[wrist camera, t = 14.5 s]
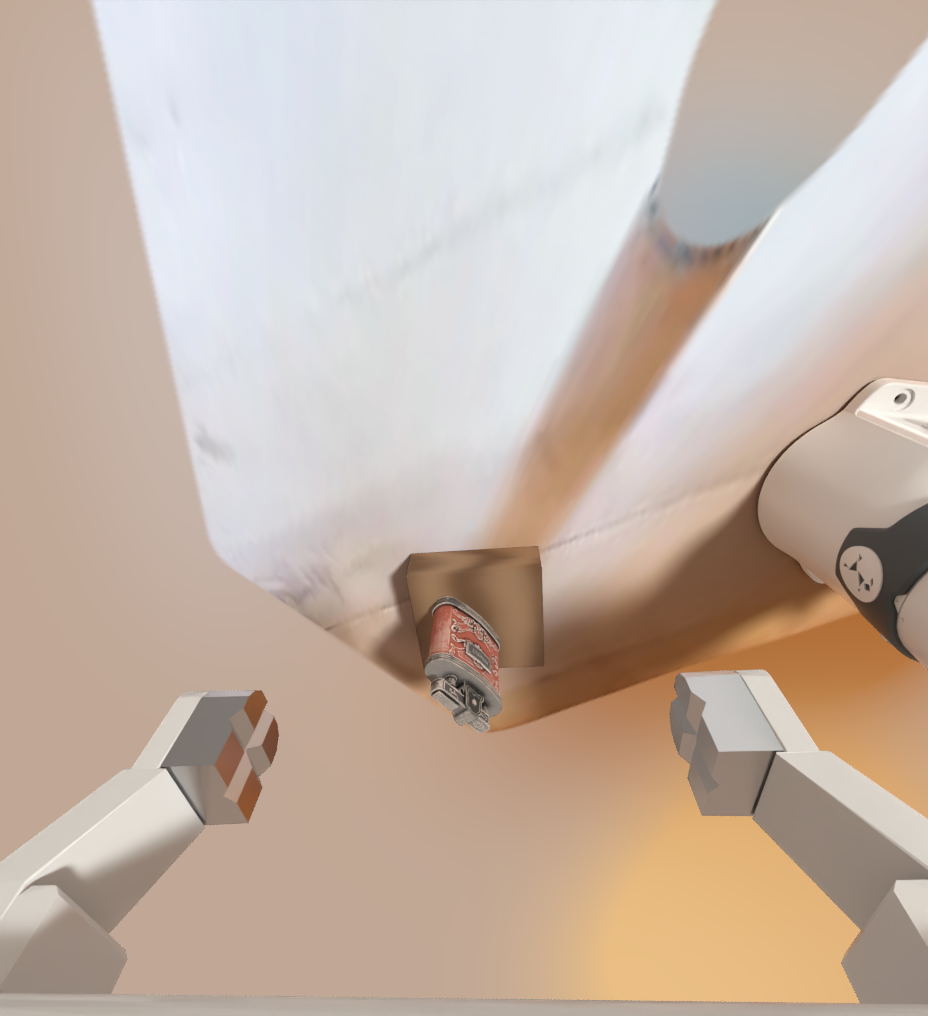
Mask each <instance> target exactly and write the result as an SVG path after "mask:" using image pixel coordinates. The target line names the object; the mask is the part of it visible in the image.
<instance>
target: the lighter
mask: <svg viewBox="0 0 928 1016" xmlns="http://www.w3.org/2000/svg"><path fill="white" fill-rule="evenodd" d="M432 616H433V618H434V619H433V627H432V635H431V642H430V650H429V658H427V660H426V663H425V675H426V676H427V678H428V679H429V680H430V681H431V682H432V683H431V692H430V695H431V696H432V697H433V698H434V699H435V700H436V701H438V702H439V703H440V704H441V705H443V706H444V707H445V708H447V709H448V710H449V711H451V712H452V714H453V717H454V720H455V721H456V723H458V724H459V725H460V726H463V725H465V724H468V725H469V726H471V727H472V728H473V729H475V730H476V731H477V732H480V733H483V732H486V731H488V730H489V729H490V717H493V716H496V715H497V714H499V713H500V711H501V710H502V698H501V696H500V694H499V667H498V651H499V650H500V640H499V637H498V636H497V634H496V633H495V632H494V630H493V629H492V628H491V626H490V625H489V624H488V623H487V622H486V621H485V620H484V619H483V618H482V617H481V616H480V615H479V614H477V613H476V612H475V611H474V610H472V609H471V608H470V607H468V606H467V605H465V604H464V603H462V602H460V601H459V600H457V599H456V598H453V597H448V596H446V597H442V598H439V599H438V600H437V601H436V602H435V603H434V605H433V611H432Z"/></svg>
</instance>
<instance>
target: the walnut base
mask: <svg viewBox="0 0 928 1016" xmlns="http://www.w3.org/2000/svg"><path fill="white" fill-rule="evenodd" d="M406 580H407V585H408V590H409V595H410V600H411V605H412V610H413V615H414V620H415V626H416V631H417V636H418V641H419V646H420V651H421V656H422V661H423V666H424V671H425V663H426V660H427V658H429V650H430V642H431V635H432V627H433V619H434V618H433V616H432V611H433V605H434V603H435V602H436V601H437V600H438V599H439V598H442V597H446V596H448V597H453V598H456V599H457V600H459V601H460V602H462V603H464V604H465V605H467V606H468V607H470V608H471V609H472V610H474V611H475V612H476V613H477V614H479V615H480V616H481V617H482V618H483V619H484V620H485V621H486V622H487V623H488V624H489V625H490V626H491V628H492V629H493V630H494V632H495V633H496V634H497V636H498V637H499V640H500V650H499V651H498V667H499V668H508V667H533V666H544V641H543V597H542V567H541V561H540V555H539V549H538V546H532V547H516V548H499V549H483V550H466V551H450V552H433V553H416V554H411V556H410V560H409V565H408V569H407V574H406Z"/></svg>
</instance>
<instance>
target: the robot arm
mask: <svg viewBox="0 0 928 1016" xmlns="http://www.w3.org/2000/svg"><path fill="white" fill-rule="evenodd" d="M899 394H900V395H899ZM897 395H899V397H898V398H897V399H896V400H895V401H894V399H895V397H896V396H897ZM758 518H759V523H760V526H761V529H762V531H763V533H764V535H765V536H766V538H767V539H768V540H769V541H770V542H771V543H772V544H773V545H774V546H775V547H777V548H778V549H780V550H781V551H783V552H785V553H786V554H788V555H789V556H791V557H793V558H794V559H795V560H797V561H798V562H799V564H800V565H801V567H802V569H803V570H804V572H805V573H806V574H807V575H808V576H809V577H810V578H811V579H813V580H814V581H815V582H817V583H822V584H824V583H825V584H827V585H828V586H829V587H830V588H831V589H833V590H834V591H835V592H836V593H838V594H839V595H840V596H841V597H843V598H844V599H845V600H846V601H847V602H849V603H850V604H851V605H852V606H854V607H855V608H856V609H857V610H859V612H860V613H861V614H862V615H863V617H864V618H865V619H866V620H867V621H868V622H869V623H871V625H873V626H874V628H875V629H877V631H878V632H879V633H880V635H881V636H882V637H883V638H884V639H885V640H886V641H887V642H888V643H890V644H891V645H893V646H894V647H895V648H896V649H897V650H898V651H900V652H901V653H902V654H904V655H905V656H907V657H909V658H910V659H913V660H915V661H917V662H920V663H921V664H922V665H923V666H924V667H925V668H927V670H928V382H921V381H911V380H902V379H893V378H882V379H878V380H876V381H874V382H872V383H870V384H869V385H868V386H866V387H865V388H864V389H863V390H862V391H861V392H860V393H859V394H858V395H857V396H856V397H855V398H854V399H853V400H852V401H851V402H850V403H849V404H848V405H847V406H846V407H845V408H844V410H842V411H841V412H840V413H838V414H837V415H835V416H834V417H832V418H831V419H829V420H827V421H826V422H824V423H822V424H820V425H819V426H817V427H815V428H814V429H812V430H811V431H809V432H808V433H806V434H805V435H803V436H802V437H801V438H800V439H798V440H797V441H796V442H795V443H794V444H793V445H791V446H790V447H789V448H788V449H787V450H786V451H785V452H784V453H783V455H782V456H781V457H780V458H779V459H778V461H777V462H776V463H775V465H774V466H773V467H772V469H771V471H770V472H769V474H768V476H767V478H766V479H765V482H764V484H763V486H762V489H761V492H760V496H759V501H758ZM674 688H675V690H676V693H677V695H678V697H677V698H676V699H675V700H674V701H673V702H671V708H670V723H671V731H672V734H673V739H674V742H675V745H676V748H677V751H678V754H679V755H680V756H681V757H682V758H684V759H685V760H686V761H687V762H688V763H689V764H690V769H689V774H688V780H689V783H690V786H691V788H692V791H693V794H694V796H695V799H696V801H697V804H698V806H699V809H700V812H701V814H702V815H703V816H753V820H754V821H755V822H756V823H757V824H758V825H759V826H760V827H761V828H762V829H763V830H764V831H765V832H766V833H767V834H768V835H769V836H770V837H771V838H772V839H773V840H774V841H775V842H776V844H777V845H779V846H780V848H781V849H783V851H784V852H785V853H786V854H787V855H788V856H789V857H790V858H791V859H792V860H793V861H794V862H795V863H796V864H797V865H798V866H799V867H800V868H801V869H802V870H803V871H804V872H805V873H806V874H807V875H808V876H809V877H810V878H811V879H812V880H813V881H814V882H815V883H816V884H817V885H818V887H819V888H820V889H821V890H822V891H823V892H824V893H825V894H826V895H827V896H828V897H829V898H830V899H831V900H832V901H833V902H834V903H835V904H836V905H837V906H838V907H839V908H840V909H841V910H842V911H843V912H844V913H845V914H846V915H847V916H848V917H849V918H850V919H851V920H852V921H853V922H854V923H855V924H856V925H857V926H858V928H860V930H861V931H860V933H859V934H858V935H857V937H856V938H855V940H854V941H853V943H852V944H851V945H850V947H849V948H848V950H847V951H846V953H845V955H844V957H843V960H842V962H841V964H842V966H843V968H844V970H845V972H846V974H847V977H848V979H849V981H850V983H851V985H852V987H853V989H854V991H855V993H856V995H857V997H858V1000H859V1002H860V1003H786V1002H785V1003H783V1002H781V1003H780V1002H778V1003H777V1002H702V1001H699V1002H698V1001H623V1000H622V1001H620V1000H613V1001H612V1000H539V999H459V998H377V997H296V996H211V995H210V996H209V995H208V996H207V995H131V994H129V995H128V994H111V993H112V990H113V988H114V986H115V984H116V982H117V980H118V978H119V976H120V974H121V972H122V970H123V967H124V965H125V963H126V961H127V955H126V950H125V949H124V948H123V947H122V946H121V945H120V944H119V943H118V942H117V941H115V940H114V939H113V938H112V937H111V936H110V935H109V933H110V932H111V931H112V930H113V929H114V928H115V927H116V926H117V924H118V923H119V922H120V921H121V920H122V919H123V918H124V917H125V916H126V914H127V913H128V912H129V911H130V910H131V909H132V908H133V907H134V906H135V904H136V903H137V902H138V901H139V900H140V899H141V898H142V897H143V896H144V895H145V893H146V892H147V891H148V890H149V889H150V888H151V887H152V886H153V885H154V884H155V883H156V881H157V880H158V879H159V878H160V877H161V876H162V875H163V874H164V873H165V871H166V870H167V869H168V868H169V867H170V866H171V865H172V864H173V863H174V862H175V861H176V859H177V858H178V857H179V856H180V855H181V854H182V853H183V852H184V851H185V850H186V848H187V847H188V846H189V845H190V844H191V843H192V842H193V841H194V840H195V838H196V837H197V836H198V835H199V834H200V833H201V832H202V831H203V830H204V829H205V826H204V825H218V824H238V823H248V822H249V820H250V817H251V815H252V812H253V810H254V807H255V805H256V802H257V800H258V797H259V795H260V792H261V790H262V785H261V781H260V778H259V776H260V775H261V774H262V773H263V772H265V771H266V770H267V769H268V768H269V767H270V766H271V764H272V762H273V759H274V756H275V754H276V751H277V744H278V737H279V733H278V725H277V722H276V720H275V718H274V716H273V715H271V714H270V713H268V712H267V711H265V710H264V708H265V706H266V704H267V700H266V698H265V696H264V694H263V692H262V691H256V690H254V691H194V692H185V693H184V694H183V695H181V696H180V697H178V699H177V700H176V701H175V703H174V704H173V706H172V708H171V709H170V710H169V712H168V713H167V715H166V716H165V718H164V719H163V721H162V723H161V724H160V726H159V727H158V729H157V730H156V732H155V733H154V735H153V736H152V738H151V739H150V741H149V742H148V744H147V745H146V747H145V748H144V750H143V751H142V753H141V754H140V756H139V757H138V759H137V761H136V762H135V764H134V765H133V767H132V768H131V769H123V770H122V771H121V772H119V773H118V774H117V775H115V776H114V777H113V778H111V779H110V780H109V781H107V782H106V783H105V784H104V785H102V786H101V787H99V788H98V789H97V790H95V791H94V792H93V793H91V794H90V795H89V796H87V797H86V798H85V799H84V800H82V801H81V802H80V803H79V804H77V805H76V806H74V807H73V808H72V809H70V810H69V811H68V812H66V813H65V814H64V815H62V816H61V817H60V818H58V819H57V820H56V821H55V822H53V823H52V824H50V825H49V826H48V827H46V828H45V829H44V830H43V831H41V832H40V833H39V834H37V835H36V836H35V837H33V838H32V839H31V840H29V841H28V842H27V843H25V844H24V845H23V846H21V847H20V848H19V849H17V850H16V851H15V852H13V853H12V854H11V855H9V856H8V857H7V858H5V859H4V860H3V861H1V862H0V1016H928V819H927V818H925V817H924V816H923V815H921V814H920V813H918V812H917V811H915V810H914V809H912V808H911V807H909V806H908V805H907V804H905V803H904V802H902V801H901V800H899V799H898V798H896V797H895V796H894V795H892V794H890V793H889V792H888V791H886V790H885V789H883V788H882V787H881V786H879V785H878V784H876V783H875V782H873V781H872V780H870V779H869V778H868V777H866V776H865V775H863V774H861V773H860V772H859V771H857V770H856V769H855V768H853V767H851V766H850V765H848V764H847V763H846V762H844V761H843V760H841V759H840V758H838V757H837V756H836V755H834V754H833V753H831V752H830V751H819V749H818V748H817V746H816V744H815V743H814V742H813V740H812V739H811V737H810V735H809V734H808V732H807V731H806V729H805V728H804V726H803V725H802V723H801V722H800V720H799V719H798V717H797V715H796V714H795V712H794V711H793V709H792V708H791V706H790V705H789V703H788V702H787V700H786V699H785V697H784V696H783V694H782V693H781V691H780V690H779V688H778V687H777V685H776V683H775V682H774V680H773V679H772V677H771V676H770V674H769V673H767V672H766V671H765V670H739V671H732V670H729V671H709V672H689V673H679V674H678V675H677V676H676V679H675V684H674Z"/></svg>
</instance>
